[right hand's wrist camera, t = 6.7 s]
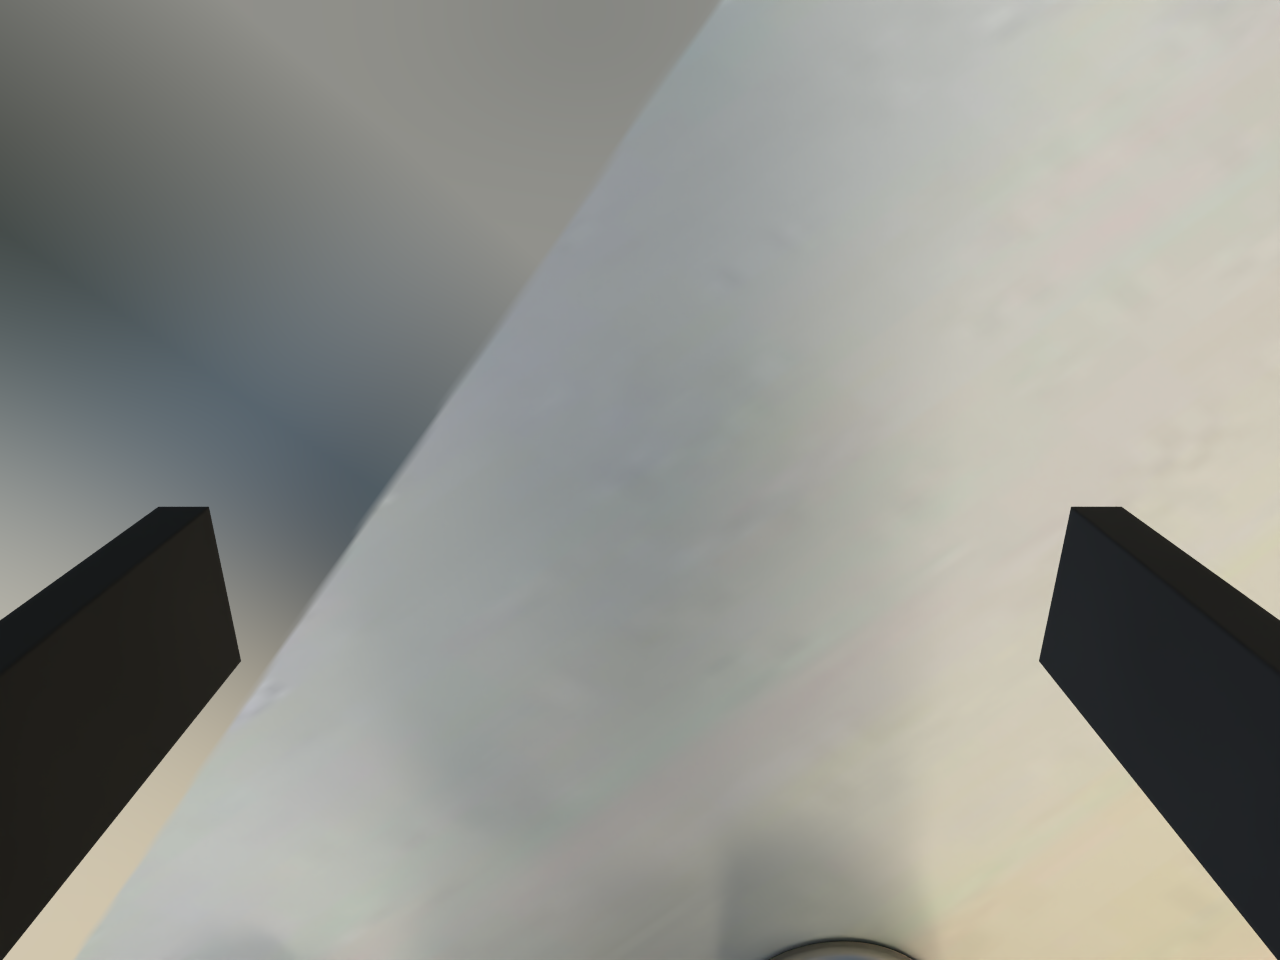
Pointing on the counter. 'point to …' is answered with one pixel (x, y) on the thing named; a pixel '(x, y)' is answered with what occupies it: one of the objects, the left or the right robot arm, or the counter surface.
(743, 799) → the counter surface
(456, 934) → the counter surface
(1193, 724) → the right robot arm
